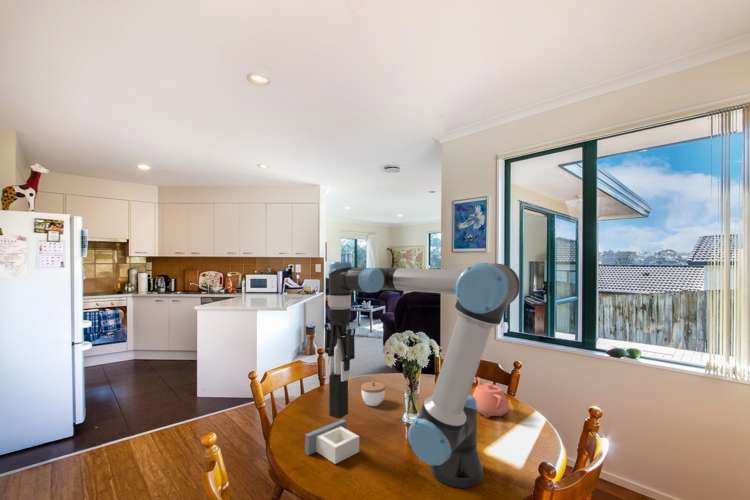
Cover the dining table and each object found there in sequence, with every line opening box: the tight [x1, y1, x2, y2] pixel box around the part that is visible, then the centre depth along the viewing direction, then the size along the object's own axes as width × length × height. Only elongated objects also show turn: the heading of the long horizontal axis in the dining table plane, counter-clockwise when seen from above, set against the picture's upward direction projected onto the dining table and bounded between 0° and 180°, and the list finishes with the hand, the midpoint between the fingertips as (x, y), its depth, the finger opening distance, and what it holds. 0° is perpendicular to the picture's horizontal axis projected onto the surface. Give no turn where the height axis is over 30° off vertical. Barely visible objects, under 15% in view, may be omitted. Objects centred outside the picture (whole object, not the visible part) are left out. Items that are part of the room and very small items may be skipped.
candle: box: [328, 339, 349, 419], centre depth 114 cm, size 5×5×25 cm
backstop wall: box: [304, 418, 348, 456], centre depth 117 cm, size 2×16×6 cm, turn 135°
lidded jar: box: [360, 381, 386, 407], centre depth 152 cm, size 11×11×9 cm
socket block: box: [316, 426, 360, 465], centre depth 113 cm, size 10×10×5 cm
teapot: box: [472, 376, 509, 419], centre depth 144 cm, size 13×20×12 cm, turn 11°
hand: (338, 377), depth 114 cm, fingers closed on candle, 6 cm apart
